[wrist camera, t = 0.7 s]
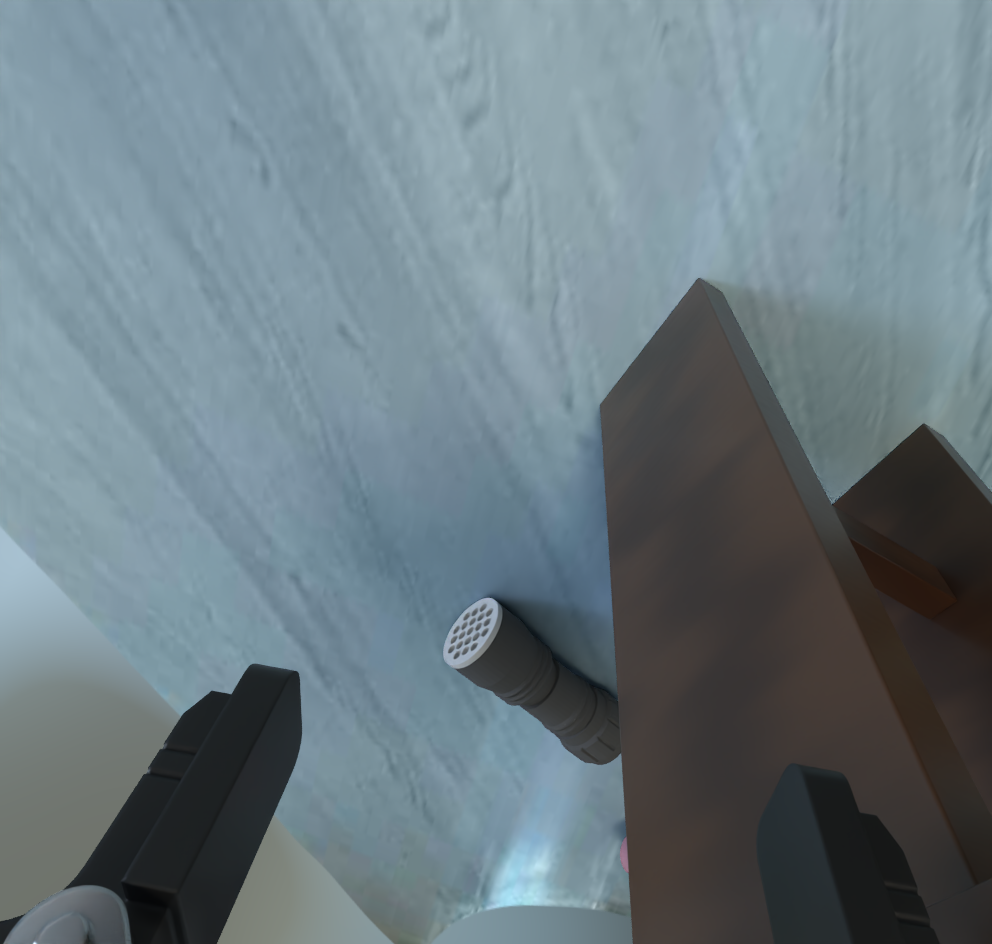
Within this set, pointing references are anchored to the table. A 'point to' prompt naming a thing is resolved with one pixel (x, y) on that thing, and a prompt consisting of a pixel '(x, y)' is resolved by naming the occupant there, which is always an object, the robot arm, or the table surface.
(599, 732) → the flashlight
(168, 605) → the table surface
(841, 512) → the stool
